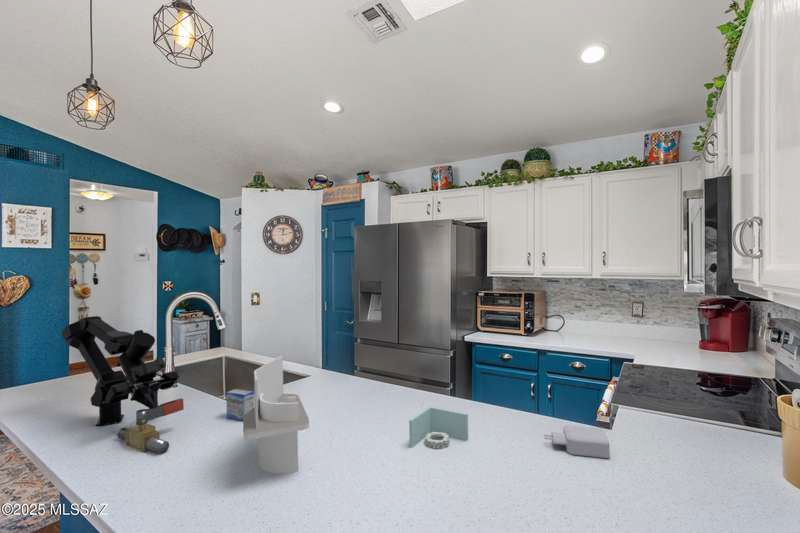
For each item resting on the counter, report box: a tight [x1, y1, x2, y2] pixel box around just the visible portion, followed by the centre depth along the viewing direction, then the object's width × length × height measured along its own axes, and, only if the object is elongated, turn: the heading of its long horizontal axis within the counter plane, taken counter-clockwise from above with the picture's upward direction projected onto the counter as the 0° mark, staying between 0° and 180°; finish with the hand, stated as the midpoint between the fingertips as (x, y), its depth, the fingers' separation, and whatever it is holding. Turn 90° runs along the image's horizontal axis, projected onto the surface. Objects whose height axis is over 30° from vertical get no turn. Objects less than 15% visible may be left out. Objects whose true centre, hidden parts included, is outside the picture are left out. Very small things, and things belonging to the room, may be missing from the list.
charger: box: [543, 424, 610, 459], centre depth 104 cm, size 5×9×15 cm
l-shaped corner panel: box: [408, 405, 469, 450], centre depth 108 cm, size 12×12×8 cm
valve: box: [116, 423, 170, 455], centre depth 110 cm, size 20×4×6 cm, turn 61°
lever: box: [135, 398, 185, 425], centre depth 114 cm, size 3×13×4 cm, turn 151°
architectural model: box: [242, 355, 310, 475], centre depth 102 cm, size 28×21×23 cm
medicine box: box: [226, 388, 255, 422], centre depth 129 cm, size 8×4×9 cm, turn 68°
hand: (156, 409), depth 116 cm, fingers closed
